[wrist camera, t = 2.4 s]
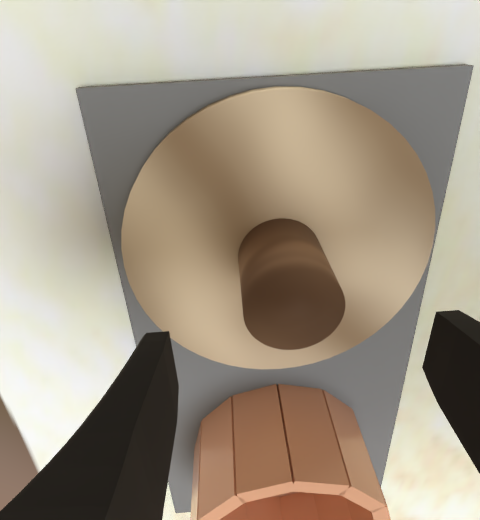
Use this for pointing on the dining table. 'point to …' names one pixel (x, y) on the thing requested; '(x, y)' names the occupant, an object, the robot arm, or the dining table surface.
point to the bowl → (284, 460)
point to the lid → (278, 228)
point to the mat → (312, 375)
